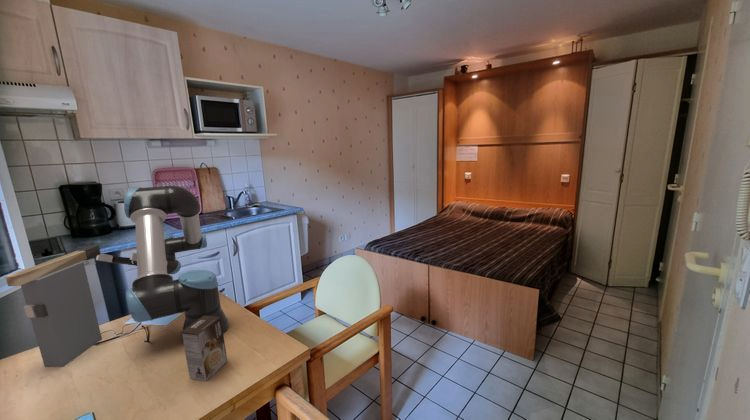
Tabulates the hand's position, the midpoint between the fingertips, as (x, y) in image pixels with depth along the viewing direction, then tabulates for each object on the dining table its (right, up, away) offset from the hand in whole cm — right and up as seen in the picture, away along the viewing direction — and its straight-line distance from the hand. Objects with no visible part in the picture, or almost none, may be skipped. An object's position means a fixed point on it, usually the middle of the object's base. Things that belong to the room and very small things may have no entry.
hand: (114, 256), depth 120 cm
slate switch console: (0, -30, -16) cm, 34 cm away
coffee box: (+51, -32, -25) cm, 65 cm away
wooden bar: (0, -1, -20) cm, 20 cm away
